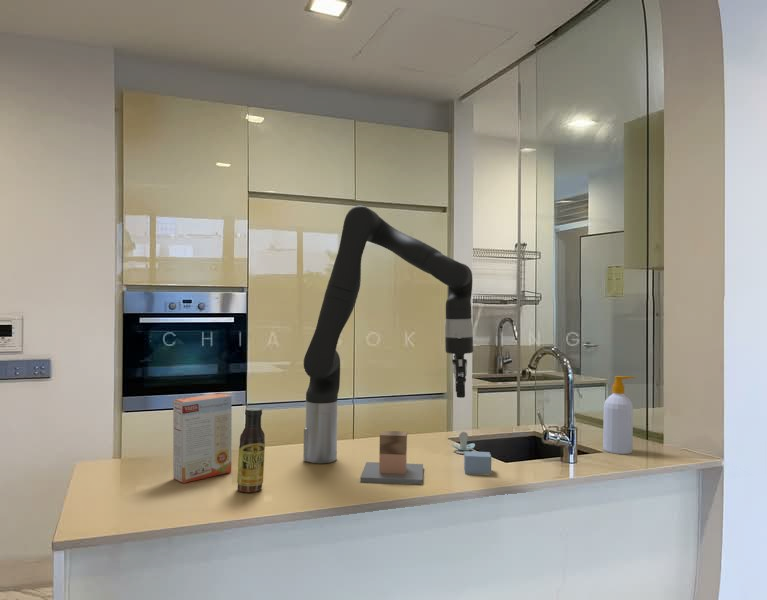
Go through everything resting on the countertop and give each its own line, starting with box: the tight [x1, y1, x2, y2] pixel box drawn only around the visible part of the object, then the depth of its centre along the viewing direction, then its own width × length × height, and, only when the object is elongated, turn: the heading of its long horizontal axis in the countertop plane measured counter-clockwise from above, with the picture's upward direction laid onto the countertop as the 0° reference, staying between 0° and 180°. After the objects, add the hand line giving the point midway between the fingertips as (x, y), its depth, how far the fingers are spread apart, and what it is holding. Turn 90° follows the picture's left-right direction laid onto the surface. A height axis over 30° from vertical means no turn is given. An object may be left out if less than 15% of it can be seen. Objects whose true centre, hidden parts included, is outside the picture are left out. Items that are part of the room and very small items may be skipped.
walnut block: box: [379, 430, 408, 455], centre depth 152 cm, size 7×5×5 cm
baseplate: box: [359, 450, 424, 485], centre depth 152 cm, size 16×14×6 cm
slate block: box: [463, 451, 492, 476], centre depth 156 cm, size 7×5×5 cm
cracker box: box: [172, 393, 233, 484], centre depth 149 cm, size 14×6×21 cm, turn 134°
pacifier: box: [451, 431, 477, 455], centre depth 176 cm, size 7×6×6 cm
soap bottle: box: [602, 375, 636, 455], centre depth 180 cm, size 9×9×24 cm
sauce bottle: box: [236, 407, 266, 493], centre depth 138 cm, size 6×6×20 cm
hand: (460, 394), depth 154 cm, fingers open, 8 cm apart
